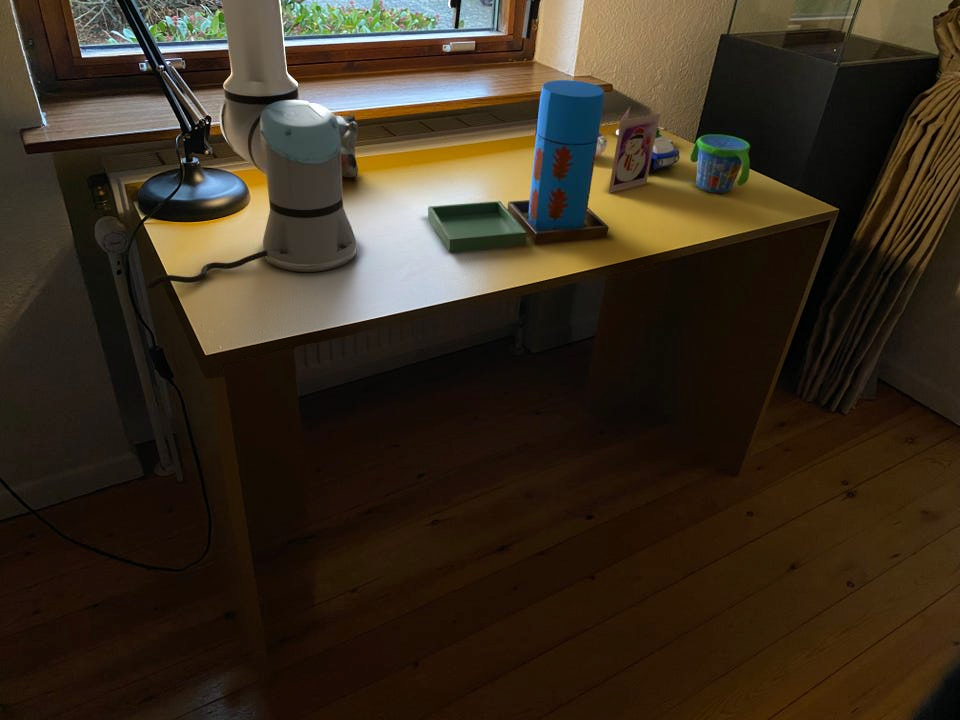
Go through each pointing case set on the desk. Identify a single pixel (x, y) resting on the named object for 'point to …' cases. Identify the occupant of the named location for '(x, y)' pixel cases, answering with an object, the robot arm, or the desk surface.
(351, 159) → the lucky cat figurine
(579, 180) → the thermos
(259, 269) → the desk surface
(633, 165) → the greeting card
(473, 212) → the sage tray
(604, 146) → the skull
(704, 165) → the snack cup
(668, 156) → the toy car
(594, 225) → the walnut frame
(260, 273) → the desk surface
